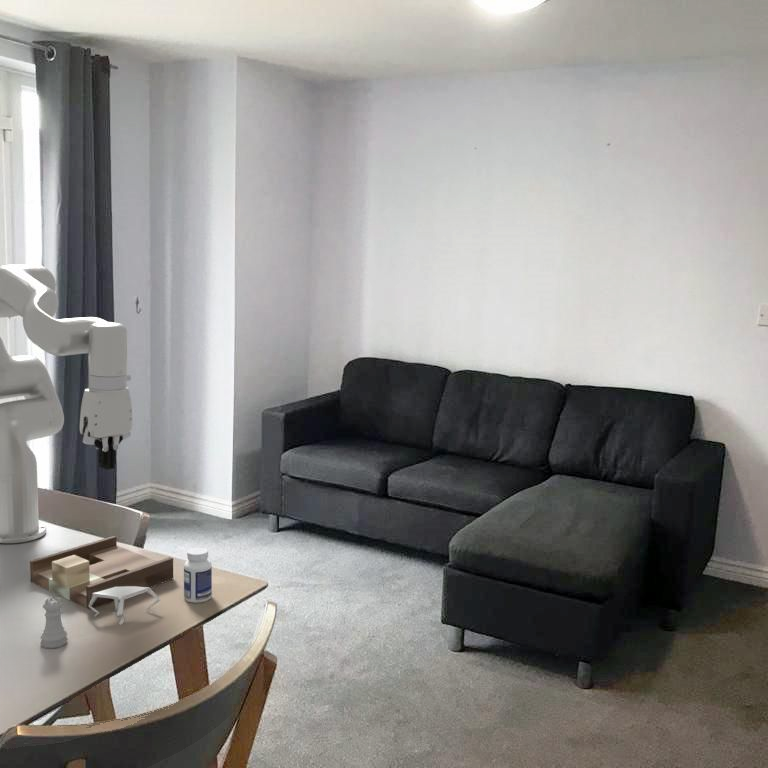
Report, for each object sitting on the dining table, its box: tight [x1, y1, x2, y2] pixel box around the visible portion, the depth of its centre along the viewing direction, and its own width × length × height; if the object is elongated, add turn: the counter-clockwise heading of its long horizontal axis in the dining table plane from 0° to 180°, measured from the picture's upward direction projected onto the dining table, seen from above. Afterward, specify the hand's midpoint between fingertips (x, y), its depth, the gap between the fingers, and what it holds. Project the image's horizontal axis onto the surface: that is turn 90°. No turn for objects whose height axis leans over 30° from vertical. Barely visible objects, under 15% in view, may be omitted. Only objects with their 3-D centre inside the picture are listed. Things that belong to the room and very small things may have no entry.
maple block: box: [52, 555, 90, 588], centre depth 170 cm, size 5×5×4 cm
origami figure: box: [89, 586, 161, 625], centre depth 161 cm, size 12×8×5 cm
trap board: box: [29, 535, 174, 610], centre depth 177 cm, size 20×20×4 cm
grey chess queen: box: [40, 596, 69, 649], centre depth 149 cm, size 4×4×8 cm
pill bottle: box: [183, 547, 213, 604], centre depth 169 cm, size 5×5×10 cm
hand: (106, 467), depth 181 cm, fingers closed
